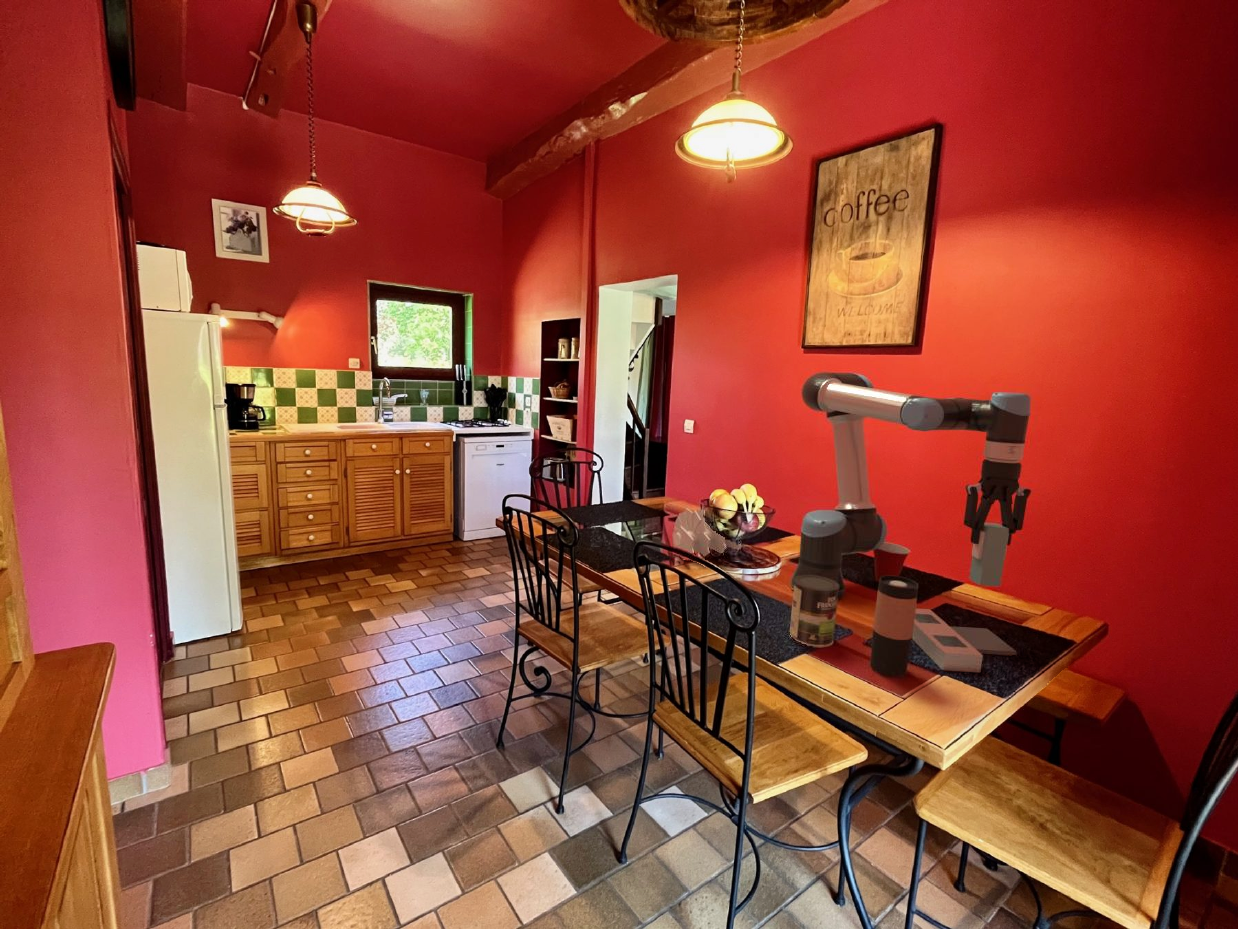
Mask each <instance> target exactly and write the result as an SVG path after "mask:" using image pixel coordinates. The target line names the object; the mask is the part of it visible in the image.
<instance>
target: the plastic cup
mask: <svg viewBox="0 0 1238 929" xmlns="http://www.w3.org/2000/svg"><path fill="white" fill-rule="evenodd" d="M910 553H911V550H910V549H909V548H908V547H905V546H902V545H900V544H897V543H892V542H886V541H884V543H883V544H882V545H881V546H880V547H879V548H877V549H875V550H873V561H874V563H873V564H874V572H875V573H874V574H875V582H876V581H877V582H879V579H880V577H882V576H887V575H891V576H900V575H901V572H902V569H903V567H904V563H905V560H906V559H907V557H908V555H909V554H910ZM877 582H876V583H877Z"/></svg>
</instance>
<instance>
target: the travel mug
mask: <svg viewBox="0 0 1238 929" xmlns="http://www.w3.org/2000/svg"><path fill="white" fill-rule="evenodd" d="M877 587H878V589H877V595H876V596H877V597H876V603H875V611H874V619H873V626H872V628H873V629H872V637H871V638H872V639H871V648H870V650H871V651H870V663H869V664H870V667H871V670H873V671H874V672H876V673H878V674H880V675H882V676H885V677H889V678H902V677H905V676H906V674H907V670H908V665H909V660H910V659H909V658H910V654H911V653H910V652H911V647H912V641H913V639H912V636H913V627H914V619H915V610H916V609H917V601H918V591H919V583H917V582H916V581H914V580H913V579H911V578H907V577H904V576H900V575H899V576H891V575H887V576H882V577H880V579H879V583H878V586H877Z"/></svg>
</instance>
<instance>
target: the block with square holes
mask: <svg viewBox="0 0 1238 929" xmlns="http://www.w3.org/2000/svg"><path fill="white" fill-rule="evenodd" d="M912 641H914V642H915V643H916V644H917V645H918V647H920V649H922V650H923V652H924V653H926V655H927V656H928V657H929V658H930V659H931V660H932V661H933V662H934V663H935V664H936V665H937V666H938V667H939V668H940V669H941V671H952V672H966V673H967V672H969V673H981V669H982V662H983V658H984V657H983V656H984V655H983V654H981V653H980V652H978V651H977V650H976V649H975V648H974V647H973V646H971V645H970V644H969V643H968V642H967V641H966V640H965V639H963V638H962V637H961V636H960V635H959V634H958V633H956V632H955V631H954V630H953V629H952V628H951V627H950V626H949V624H947V623H946V622H945V621H944V620H943V619H942V618H940V617H939V616H938V615H937V614H936V613H935V612H934V611H933V610H931V609H930V608H916V610H915V619H914V627H913V636H912Z"/></svg>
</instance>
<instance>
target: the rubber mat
mask: <svg viewBox="0 0 1238 929" xmlns="http://www.w3.org/2000/svg"><path fill="white" fill-rule="evenodd" d="M950 627H951V628H952V629H953V630H954V631H955V632H956V633H958V634H959V635H960V636H961V637H962V638H963V639H965V640H966V641H967V642H968V643H969V644H970V645H971V646H973V647H974V648H975V649H976V650H977V651H978V652H980V653H981V654H982V655H983V654H985V655H995V654H996V655H995V656H997V655H998V656H999V655H1000V656H1012V655H1016V656H1017V654H1018V653H1017V651H1016V649H1014V648H1013V647H1011V646H1010V645H1009V644H1007V643H1006V642H1005V641H1004V640H1002V639H1001V638H1000V637H999V636H997V635H996V634H994V633H993V632H992V631H991V630H989V629H988V628H983V627H965V626H950Z"/></svg>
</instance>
